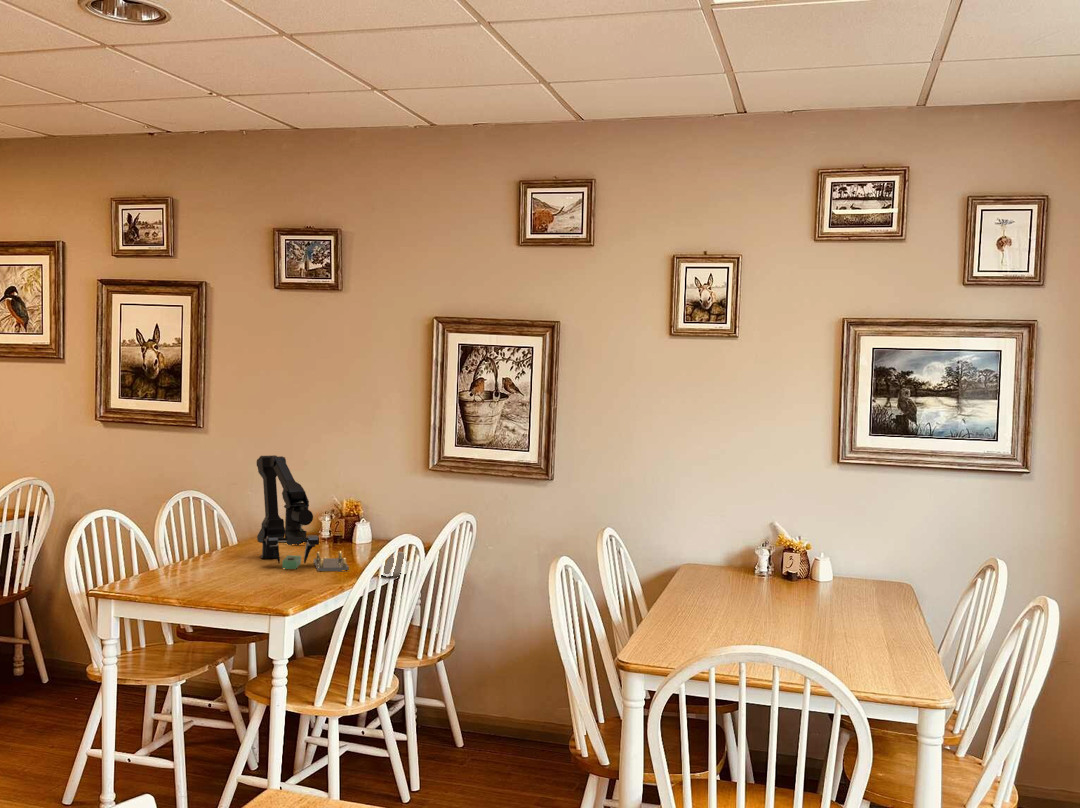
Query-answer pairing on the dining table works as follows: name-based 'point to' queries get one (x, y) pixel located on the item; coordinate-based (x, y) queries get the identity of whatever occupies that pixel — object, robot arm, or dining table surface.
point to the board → (291, 562)
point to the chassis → (331, 563)
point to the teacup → (390, 562)
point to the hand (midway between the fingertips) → (291, 563)
